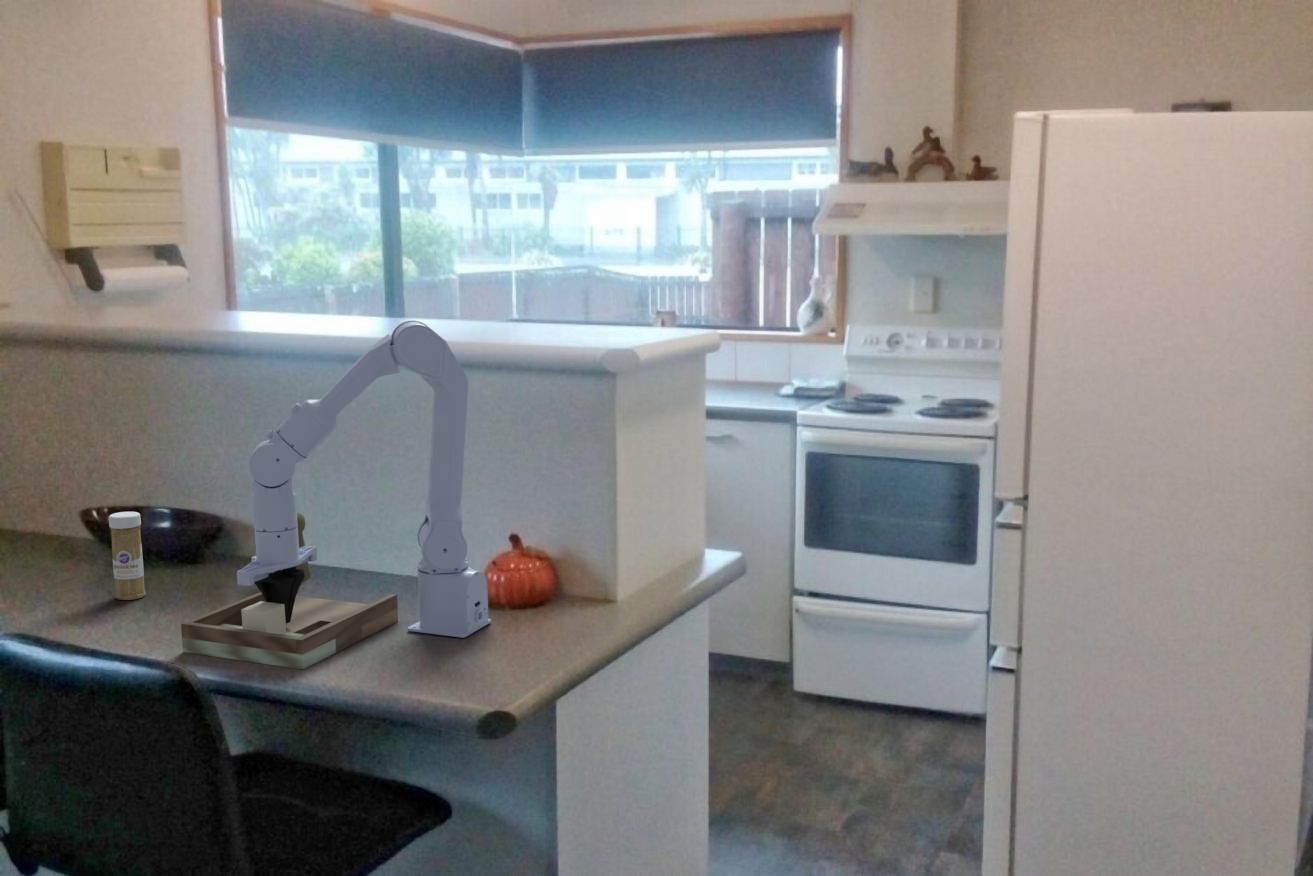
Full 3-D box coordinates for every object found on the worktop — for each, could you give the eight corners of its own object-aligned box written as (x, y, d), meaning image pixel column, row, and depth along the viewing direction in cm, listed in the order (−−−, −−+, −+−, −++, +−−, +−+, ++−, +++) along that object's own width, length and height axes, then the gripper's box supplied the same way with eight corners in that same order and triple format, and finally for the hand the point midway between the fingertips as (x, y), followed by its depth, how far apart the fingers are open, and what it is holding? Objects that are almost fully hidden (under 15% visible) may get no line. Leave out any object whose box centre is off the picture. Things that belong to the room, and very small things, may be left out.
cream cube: (286, 632, 171) (284, 604, 170) (266, 640, 167) (265, 612, 166) (262, 628, 172) (261, 601, 172) (243, 637, 168) (241, 609, 168)
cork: (300, 583, 202) (296, 517, 200) (266, 581, 203) (262, 516, 202) (317, 573, 208) (313, 509, 206) (284, 572, 209) (280, 508, 207)
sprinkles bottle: (115, 602, 192) (108, 518, 190) (115, 594, 197) (108, 512, 194) (146, 598, 194) (140, 515, 192) (146, 591, 198) (139, 509, 196)
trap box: (398, 621, 182) (397, 594, 181) (303, 669, 162) (301, 640, 161) (287, 607, 189) (285, 581, 188) (183, 651, 169) (180, 623, 168)
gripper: (286, 514, 179) (291, 605, 181) (216, 536, 165) (222, 634, 167) (327, 518, 176) (331, 610, 178) (258, 541, 163) (265, 640, 165)
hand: (281, 622), depth 173 cm, fingers closed
